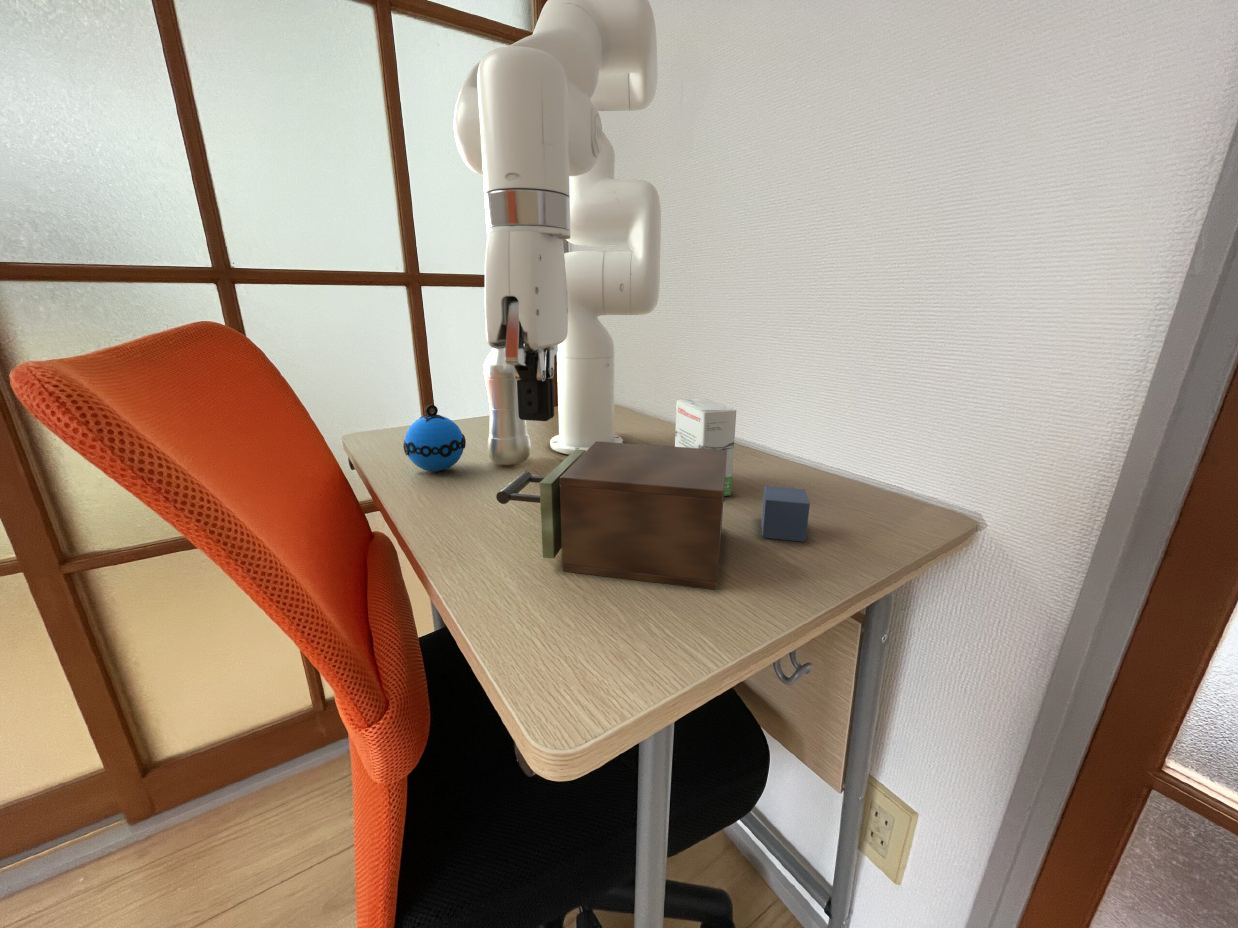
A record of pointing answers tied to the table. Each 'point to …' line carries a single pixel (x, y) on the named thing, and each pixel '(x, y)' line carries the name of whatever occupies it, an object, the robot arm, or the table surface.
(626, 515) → the cabinet
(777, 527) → the block
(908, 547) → the table surface
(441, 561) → the table surface
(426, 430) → the ornament
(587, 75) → the robot arm
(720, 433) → the ink box
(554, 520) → the drawer
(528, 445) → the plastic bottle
